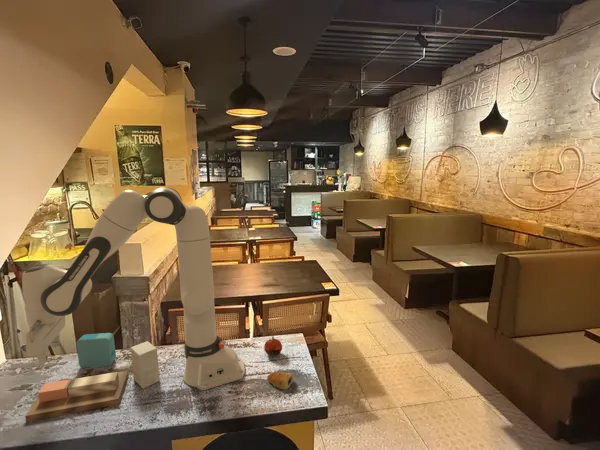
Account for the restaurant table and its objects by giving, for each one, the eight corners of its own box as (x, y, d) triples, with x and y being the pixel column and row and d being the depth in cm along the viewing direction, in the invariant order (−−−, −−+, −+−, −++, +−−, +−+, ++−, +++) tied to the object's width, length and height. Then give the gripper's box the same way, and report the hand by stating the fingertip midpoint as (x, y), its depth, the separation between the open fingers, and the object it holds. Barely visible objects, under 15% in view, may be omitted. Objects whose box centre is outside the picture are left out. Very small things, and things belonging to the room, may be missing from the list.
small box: (160, 380, 123) (157, 348, 121) (142, 389, 119) (139, 355, 116) (150, 371, 129) (147, 340, 126) (133, 379, 124) (130, 347, 122)
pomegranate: (282, 363, 137) (285, 339, 144) (278, 356, 132) (281, 332, 139) (265, 363, 139) (268, 340, 145) (260, 356, 133) (263, 332, 140)
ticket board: (128, 375, 127) (127, 362, 126) (119, 404, 111) (117, 388, 110) (47, 389, 119) (45, 374, 118) (26, 421, 104) (23, 405, 103)
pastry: (263, 384, 121) (263, 375, 120) (272, 374, 127) (272, 365, 126) (286, 391, 117) (286, 382, 116) (295, 380, 123) (295, 371, 123)
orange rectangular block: (73, 388, 116) (71, 378, 116) (67, 397, 112) (66, 387, 111) (46, 392, 114) (44, 383, 113) (39, 402, 109) (37, 392, 109)
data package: (116, 359, 137) (113, 332, 135) (112, 366, 133) (108, 338, 131) (85, 361, 136) (81, 334, 134) (79, 368, 131) (75, 340, 129)
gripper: (41, 328, 99) (47, 370, 101) (67, 301, 118) (71, 337, 121) (16, 331, 97) (22, 374, 99) (46, 303, 116) (51, 340, 119)
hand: (49, 354), depth 110 cm, fingers open, 8 cm apart
